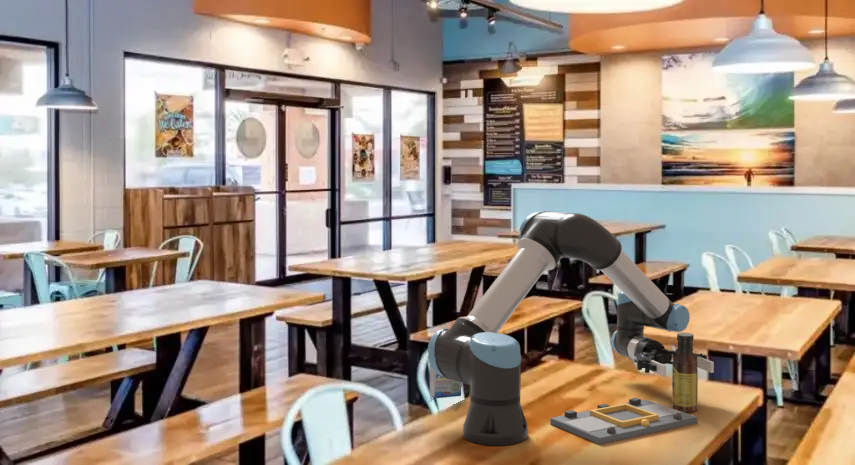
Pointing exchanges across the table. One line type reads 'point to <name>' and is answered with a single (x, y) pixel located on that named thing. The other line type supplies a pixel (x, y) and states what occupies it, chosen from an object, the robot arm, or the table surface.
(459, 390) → the medicine box
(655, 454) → the table surface
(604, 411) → the grey fixture plate
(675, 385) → the sauce bottle
